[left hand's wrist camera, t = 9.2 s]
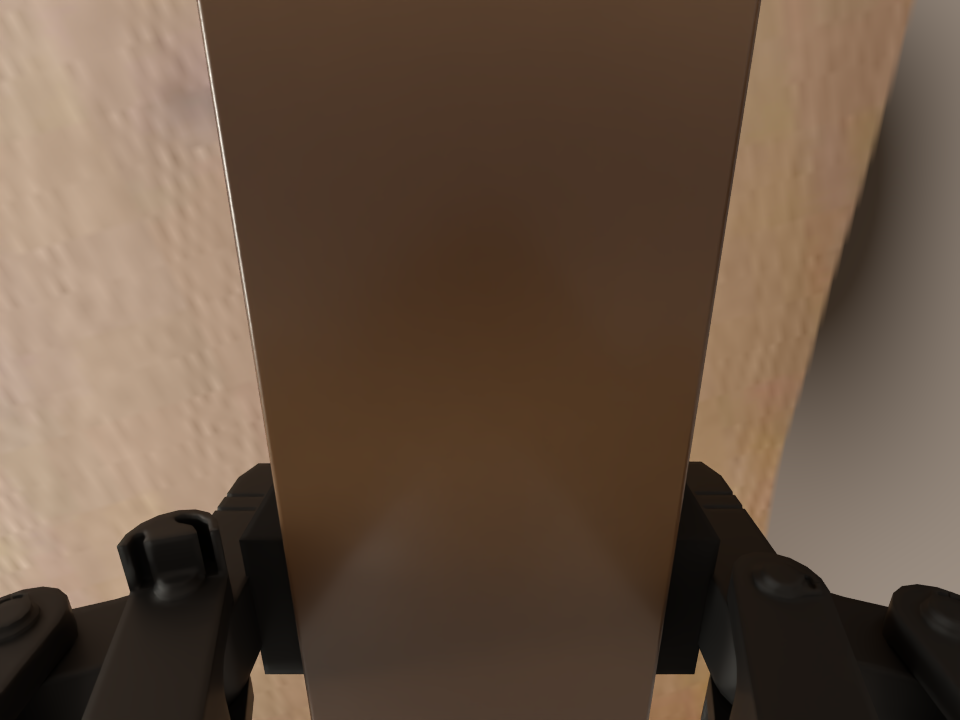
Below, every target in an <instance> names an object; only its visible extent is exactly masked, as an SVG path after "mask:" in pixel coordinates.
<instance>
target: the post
mask: <svg viewBox="0 0 960 720" xmlns="http://www.w3.org/2000/svg"><path fill="white" fill-rule="evenodd" d="M760 4H761V0H197V6H198V12H199V18H200V25H201V31H202V37H203V44H204V50H205V56H206V62H207V69H208V75H209V81H210V87H211V94H212V100H213V106H214V113H215V119H216V125H217V131H218V138H219V144H220V150H221V156H222V163H223V169H224V175H225V182H226V188H227V194H228V200H229V207H230V213H231V219H232V225H233V232H234V238H235V244H236V251H237V257H238V263H239V269H240V276H241V282H242V288H243V294H244V301H245V307H246V313H247V320H248V326H249V332H250V338H251V345H252V351H253V357H254V363H255V370H256V376H257V382H258V389H259V395H260V401H261V407H262V414H263V420H264V426H265V432H266V439H267V445H268V451H269V458H270V464H271V470H272V476H273V483H274V489H275V495H276V501H277V508H278V514H279V520H280V527H281V533H282V539H283V545H284V552H285V558H286V564H287V570H288V577H289V583H290V589H291V596H292V602H293V608H294V614H295V621H296V627H297V633H298V639H299V646H300V652H301V658H302V665H303V671H304V677H305V683H306V690H307V696H308V702H309V708H310V715H311V720H649V714H650V707H651V701H652V694H653V688H654V682H655V675H656V669H657V662H658V656H659V650H660V643H661V637H662V630H663V624H664V618H665V611H666V605H667V599H668V592H669V586H670V579H671V573H672V567H673V560H674V554H675V547H676V541H677V535H678V528H679V522H680V515H681V509H682V503H683V496H684V490H685V483H686V477H687V471H688V464H689V458H690V452H691V445H692V439H693V432H694V426H695V420H696V413H697V407H698V400H699V394H700V388H701V381H702V375H703V368H704V362H705V356H706V349H707V343H708V337H709V330H710V324H711V317H712V311H713V305H714V298H715V292H716V285H717V279H718V273H719V266H720V260H721V253H722V247H723V241H724V234H725V228H726V221H727V215H728V209H729V202H730V196H731V190H732V183H733V177H734V170H735V164H736V158H737V151H738V145H739V138H740V132H741V126H742V119H743V113H744V106H745V100H746V94H747V87H748V81H749V75H750V68H751V62H752V55H753V49H754V43H755V36H756V30H757V23H758V17H759V11H760Z"/></svg>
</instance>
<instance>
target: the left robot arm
mask: <svg viewBox="0 0 960 720" xmlns="http://www.w3.org/2000/svg"><path fill="white" fill-rule="evenodd" d="M117 549H118V552H119V555H120V559H121V562H122V566H123V569H124V572H125V576H126V579H127V582H128V586H129V589H130V595H128V596H125V597H122V598H118V599H115V600H110V601H106V602H102V603H97V604H93V605H89V606H84V607H80V608H75V609H72V608H71V605H70V603H69V600H68V597H67V595H66V594H64V593H63V592H62V591H61V590H59V589H57V588H50V587H37V588H31V589H24V590H21V591H18V592H15V593H12V594H9V595H6V596H4V597H1V598H0V720H252V712H253V701H254V694H253V688H252V682H251V677H250V673H251V671H252V669H253V666H254V664H255V662H256V659H257V657H258V655H259V652H260V650H261V655H262V660H263V665H264V670H265V674H304V671H303V665H302V658H301V652H300V646H299V639H298V633H297V627H296V621H295V614H294V608H293V602H292V596H291V589H290V583H289V577H288V570H287V564H286V558H285V552H284V545H283V539H282V533H281V527H280V520H279V514H278V508H277V501H276V495H275V489H274V483H273V476H272V470H271V464H270V463H258V464H257V465H256V466H254V467H253V468H251V469H250V470H249V471H247V472H246V473H244V474H243V475H241V476H240V477H239V478H238V479H237V481H236V482H235V483H234V485H233V486H232V488H231V489H230V490H229V492H228V493H227V497H225V498H224V499H223V500H222V502H221V503H220V505H219V506H218V510H217V511H215V512H214V513H213V515H211V514H210V513H208V512H204V511H200V510H178V511H174V512H170V513H166V514H162V515H159V516H156V517H154V518H152V519H150V520H148V521H145V522H143V523H141V524H140V525H138V526H137V527H136V528H134V529H133V530H131V531H130V532H129V533H127V534H126V535H125V536H124V538H123V539H122V540H121V542H120V543H119V544H118V546H117ZM699 648H700V651H701V653H702V655H703V658H704V660H705V662H706V664H707V667H708V669H709V671H710V677H709V682H708V687H707V692H706V696H705V701H704V706H703V711H702V715H701V720H960V595H958V594H955V593H953V592H949V591H947V590H944V589H941V588H938V587H932V586H926V585H919V584H915V585H908V586H902V587H900V588H899V589H898V590H897V591H895V592H894V593H893V595H892V598H891V601H890V604H889V607H886V606H882V605H877V604H873V603H868V602H864V601H860V600H855V599H851V598H846V597H843V596H839V595H836V594H833V593H830V591H829V590H828V588H827V587H826V585H825V584H824V582H823V580H822V579H821V578H820V577H819V576H818V575H816V574H815V573H814V572H813V571H812V570H810V569H809V568H808V567H806V566H804V565H802V564H801V563H799V562H797V561H795V560H793V559H791V558H788V557H785V556H781V555H778V554H776V552H775V551H774V549H773V548H772V547H771V545H770V544H769V542H768V541H767V540H766V538H765V537H764V535H763V534H762V532H761V531H760V530H759V528H758V527H757V525H756V524H755V523H754V521H753V520H752V518H751V517H750V516H749V514H748V513H747V511H746V510H745V509H743V508H742V504H741V503H740V502H739V500H738V499H737V497H736V496H735V495H733V492H732V490H731V489H730V487H729V486H728V485H727V483H726V482H725V480H724V479H723V478H722V476H721V475H719V474H718V473H717V472H715V471H714V470H712V469H711V468H709V467H708V466H707V465H705V464H704V463H702V462H689V464H688V471H687V477H686V483H685V490H684V496H683V503H682V509H681V515H680V522H679V528H678V535H677V541H676V547H675V554H674V560H673V567H672V573H671V579H670V586H669V592H668V599H667V605H666V611H665V618H664V624H663V630H662V637H661V643H660V650H659V656H658V662H657V669H656V674H694V673H695V668H696V663H697V658H698V653H699Z"/></svg>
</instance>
